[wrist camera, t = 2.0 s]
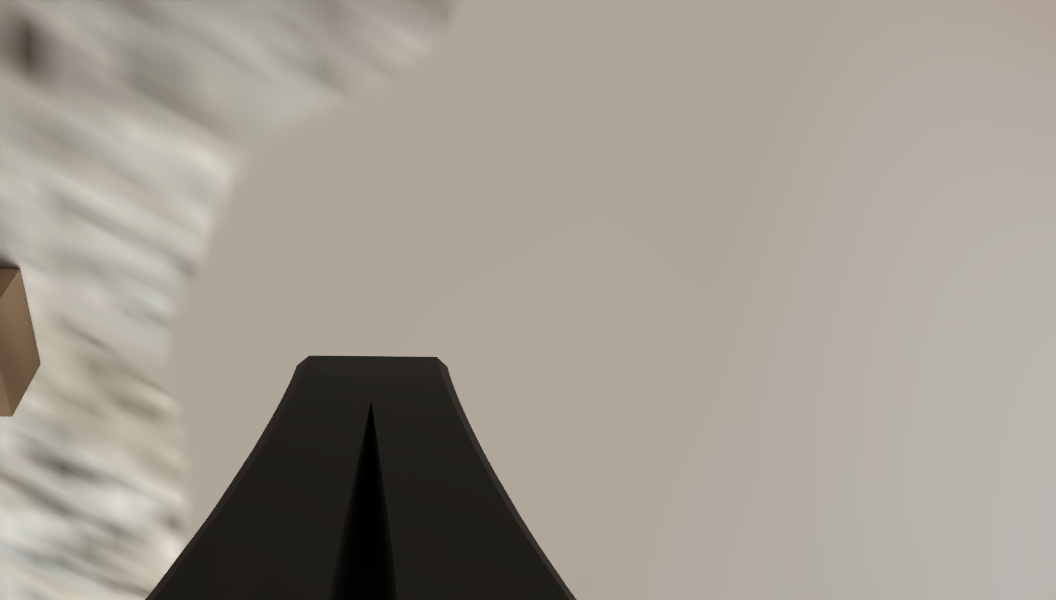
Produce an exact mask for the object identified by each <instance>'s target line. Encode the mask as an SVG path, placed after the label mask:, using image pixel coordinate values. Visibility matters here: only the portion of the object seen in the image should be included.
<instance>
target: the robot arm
mask: <svg viewBox="0 0 1056 600" xmlns="http://www.w3.org/2000/svg"><path fill="white" fill-rule="evenodd" d="M146 600H576V599H575V597H574V596H573V594H572V593H571V592H570V590H569V589H568V587H567V586H566V585H565V583H564V582H563V580H562V579H561V577H560V576H559V574H558V573H557V571H556V570H555V569H554V567H553V566H552V564H551V563H550V561H549V560H548V558H547V557H546V555H545V554H544V552H543V551H542V549H541V548H540V547H539V545H538V543H537V542H536V540H535V539H534V537H533V536H532V534H531V532H530V531H529V529H528V528H527V526H526V524H525V523H524V521H523V520H522V518H521V516H520V515H519V513H518V512H517V510H516V508H515V506H514V505H513V503H512V501H511V499H510V498H509V496H508V494H507V493H506V491H505V489H504V487H503V486H502V484H501V482H500V481H499V479H498V477H497V476H496V474H495V472H494V470H493V469H492V467H491V465H490V463H489V461H488V459H487V457H486V455H485V454H484V452H483V450H482V448H481V446H480V444H479V442H478V440H477V438H476V436H475V434H474V432H473V430H472V428H471V426H470V424H469V422H468V419H467V417H466V415H465V413H464V411H463V408H462V406H461V404H460V401H459V399H458V397H457V394H456V392H455V389H454V386H453V384H452V381H451V378H450V375H449V372H448V368H447V366H446V365H445V364H444V363H442V362H441V361H440V360H439V359H438V358H437V357H382V356H308V357H307V358H306V359H305V360H303V361H302V362H301V363H300V364H299V365H297V367H296V370H295V372H294V374H293V377H292V379H291V381H290V384H289V386H288V388H287V390H286V392H285V394H284V396H283V398H282V400H281V402H280V404H279V405H278V407H277V409H276V411H275V413H274V415H273V417H272V418H271V420H270V422H269V424H268V425H267V427H266V428H265V430H264V432H263V434H262V435H261V437H260V439H259V440H258V442H257V444H256V445H255V447H254V449H253V451H252V452H251V453H250V455H249V457H248V458H247V460H246V461H245V463H244V464H243V466H242V467H241V469H240V470H239V472H238V474H237V475H236V476H235V478H234V479H233V481H232V482H231V484H230V485H229V487H228V488H227V490H226V491H225V493H224V495H223V496H222V498H221V499H220V501H219V502H218V504H217V505H216V507H215V508H214V509H213V511H212V513H211V514H210V515H209V517H208V518H207V519H206V521H205V522H204V523H203V525H202V526H201V527H200V529H199V530H198V532H197V533H196V534H195V535H194V537H193V538H192V539H191V541H190V542H189V543H188V545H187V546H186V547H185V549H184V550H183V551H182V553H181V554H180V555H179V557H178V558H177V559H176V561H175V562H174V563H173V565H172V566H171V567H170V569H169V570H168V571H167V573H166V574H165V575H164V577H163V578H162V579H161V580H160V582H159V583H158V584H157V586H156V587H155V588H154V590H153V591H152V592H151V593H150V595H149V596H148V597H147V598H146Z"/></svg>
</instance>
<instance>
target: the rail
mask: <svg viewBox="0 0 1056 600" xmlns="http://www.w3.org/2000/svg"><path fill="white" fill-rule="evenodd" d="M39 366H40V361H39V356H38V351H37V347H36V342H35V337H34V333H33V328H32V323H31V319H30V314H29V309H28V305H27V300H26V295H25V291H24V286H23V281H22V277H21V272H20V269H0V416H13V414H14V412H15V410H16V408H17V406H18V405H19V403H20V401H21V399H22V397H23V395H24V393H25V392H26V390H27V388H28V386H29V384H30V382H31V381H32V379H33V377H34V375H35V373H36V371H37V369H38V368H39Z"/></svg>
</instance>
